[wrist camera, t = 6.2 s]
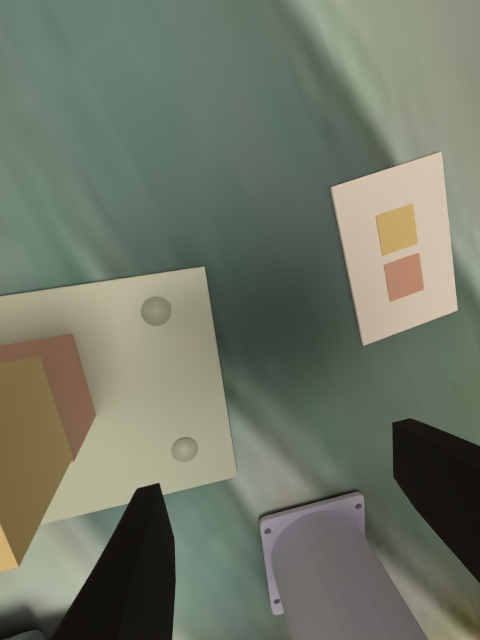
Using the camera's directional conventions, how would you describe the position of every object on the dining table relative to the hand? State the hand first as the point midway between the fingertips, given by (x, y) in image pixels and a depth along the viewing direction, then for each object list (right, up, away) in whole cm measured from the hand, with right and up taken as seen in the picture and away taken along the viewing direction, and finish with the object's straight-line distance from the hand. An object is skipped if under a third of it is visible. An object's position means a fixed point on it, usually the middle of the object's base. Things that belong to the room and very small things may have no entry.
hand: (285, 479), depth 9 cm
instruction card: (+8, +9, +10) cm, 16 cm away
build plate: (-10, 0, +9) cm, 14 cm away
